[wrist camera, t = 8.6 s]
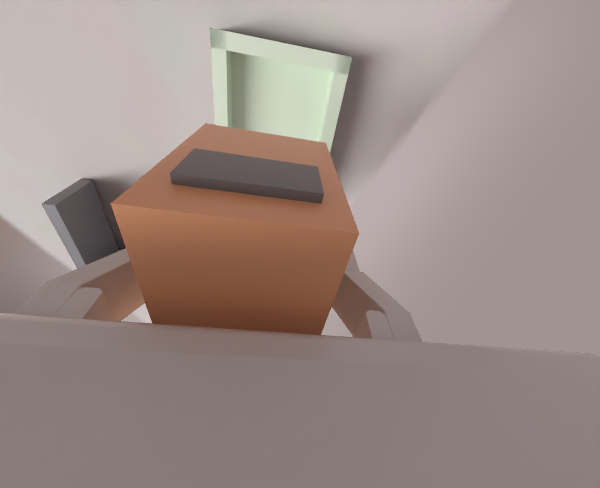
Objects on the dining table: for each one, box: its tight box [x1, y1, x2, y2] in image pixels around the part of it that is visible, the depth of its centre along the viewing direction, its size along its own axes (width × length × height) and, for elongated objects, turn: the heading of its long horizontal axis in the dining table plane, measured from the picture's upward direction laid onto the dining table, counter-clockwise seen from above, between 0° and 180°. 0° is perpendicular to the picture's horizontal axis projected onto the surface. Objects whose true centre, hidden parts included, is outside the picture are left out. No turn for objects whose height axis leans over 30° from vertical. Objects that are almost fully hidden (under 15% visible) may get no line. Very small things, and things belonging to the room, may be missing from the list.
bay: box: [42, 179, 123, 269], centre depth 26 cm, size 10×15×6 cm
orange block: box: [110, 124, 359, 335], centre depth 9 cm, size 8×4×6 cm, turn 171°
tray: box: [210, 28, 352, 153], centre depth 21 cm, size 13×10×2 cm
